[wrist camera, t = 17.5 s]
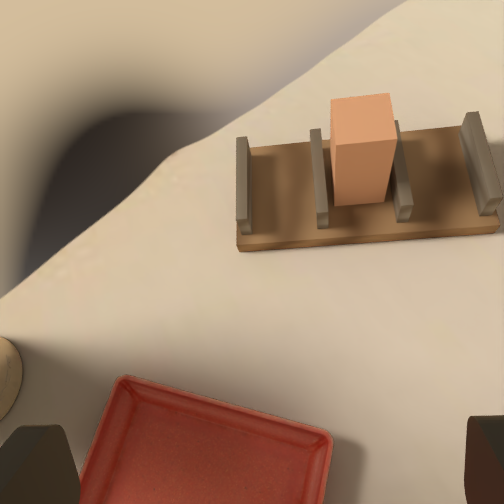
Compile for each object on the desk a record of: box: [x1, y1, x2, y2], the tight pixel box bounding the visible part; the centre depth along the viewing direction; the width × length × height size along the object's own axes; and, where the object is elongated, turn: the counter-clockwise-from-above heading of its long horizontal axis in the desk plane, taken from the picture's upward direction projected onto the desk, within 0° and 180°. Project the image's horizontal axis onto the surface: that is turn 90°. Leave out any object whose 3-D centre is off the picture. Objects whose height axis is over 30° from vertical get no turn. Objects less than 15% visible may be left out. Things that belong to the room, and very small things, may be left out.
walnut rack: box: [236, 111, 503, 252], centre depth 42 cm, size 23×11×4 cm, turn 91°
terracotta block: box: [330, 93, 397, 206], centre depth 38 cm, size 4×4×9 cm
